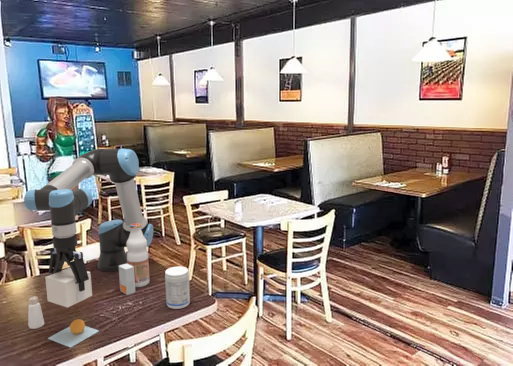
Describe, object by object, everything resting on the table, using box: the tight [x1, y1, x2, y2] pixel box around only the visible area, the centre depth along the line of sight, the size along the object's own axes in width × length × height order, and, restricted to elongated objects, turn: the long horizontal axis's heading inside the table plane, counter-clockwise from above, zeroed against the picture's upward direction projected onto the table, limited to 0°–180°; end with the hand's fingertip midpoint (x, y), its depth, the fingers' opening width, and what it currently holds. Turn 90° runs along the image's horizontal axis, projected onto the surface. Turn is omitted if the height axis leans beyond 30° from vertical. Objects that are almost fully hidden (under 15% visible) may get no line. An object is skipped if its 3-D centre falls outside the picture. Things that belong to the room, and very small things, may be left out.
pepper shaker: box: [27, 295, 45, 330], centre depth 156 cm, size 5×5×11 cm
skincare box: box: [118, 263, 136, 296], centre depth 184 cm, size 6×4×12 cm
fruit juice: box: [126, 223, 151, 288], centre depth 191 cm, size 9×9×28 cm
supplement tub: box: [164, 265, 191, 310], centre depth 172 cm, size 10×10×15 cm
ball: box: [69, 318, 86, 334], centre depth 151 cm, size 5×5×5 cm
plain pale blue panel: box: [47, 325, 100, 349], centre depth 151 cm, size 12×12×1 cm
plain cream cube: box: [44, 267, 93, 309], centre depth 147 cm, size 10×10×9 cm
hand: (70, 296), depth 148 cm, fingers closed on plain cream cube, 10 cm apart
